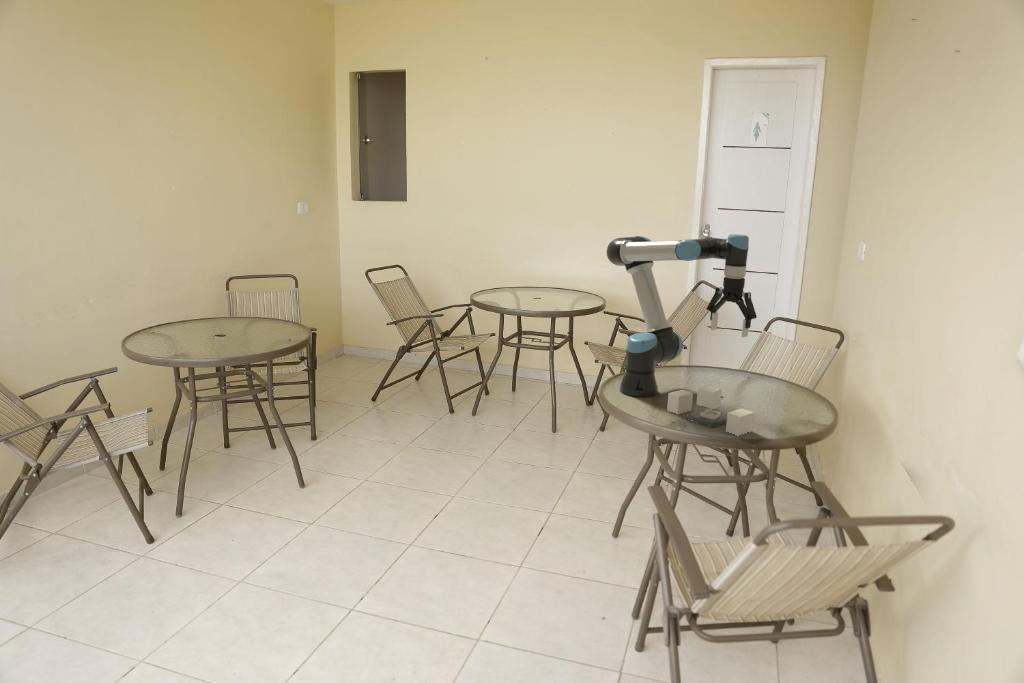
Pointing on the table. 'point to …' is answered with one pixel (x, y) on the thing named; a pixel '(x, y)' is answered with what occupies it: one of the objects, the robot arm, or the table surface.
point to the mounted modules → (736, 420)
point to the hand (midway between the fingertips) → (728, 333)
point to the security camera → (709, 401)
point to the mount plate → (707, 419)
